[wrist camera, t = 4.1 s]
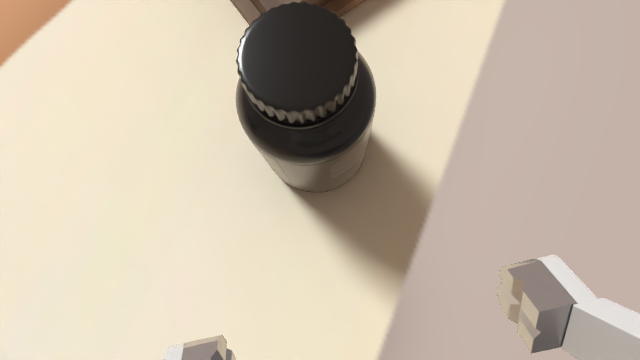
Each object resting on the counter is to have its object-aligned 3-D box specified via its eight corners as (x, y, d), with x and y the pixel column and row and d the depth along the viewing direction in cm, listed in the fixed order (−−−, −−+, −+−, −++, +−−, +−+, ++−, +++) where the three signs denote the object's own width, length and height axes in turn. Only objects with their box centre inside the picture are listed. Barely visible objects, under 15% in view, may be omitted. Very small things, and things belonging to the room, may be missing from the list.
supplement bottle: (353, 89, 27) (365, -39, 15) (376, 181, 26) (409, 117, 14) (258, 110, 27) (199, -3, 15) (276, 203, 26) (226, 158, 14)
